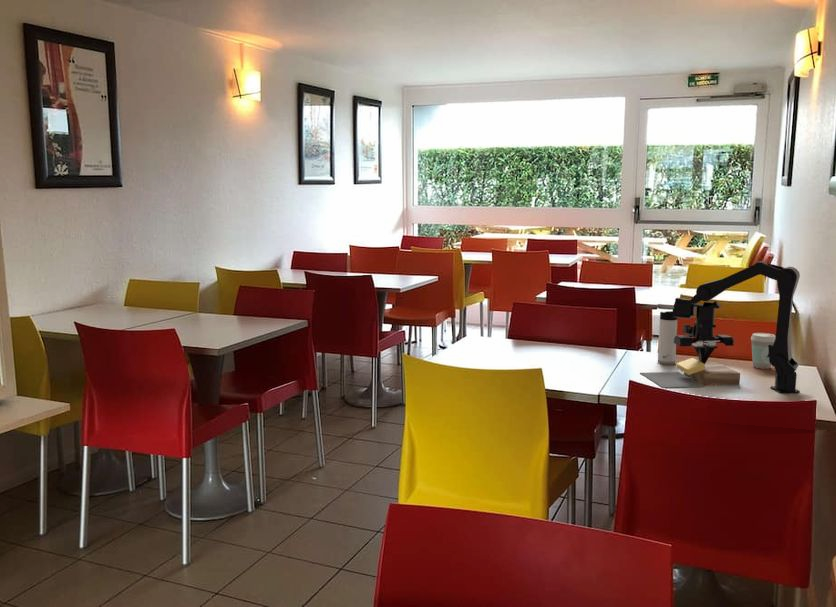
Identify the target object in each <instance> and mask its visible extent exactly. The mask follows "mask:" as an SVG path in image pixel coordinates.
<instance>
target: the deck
mask: <svg viewBox="0 0 836 607" xmlns="http://www.w3.org/2000/svg"><path fill="white" fill-rule="evenodd" d="M683 375H685V376H687V377H689V378H690V379H692V380H694V381H696V382H697V383H699V384H701V385H703V386H704V387H705V386H706V387H709V386H710V387H712V386H713V387H714V386H739V385H740V383H741V382H740V381H741V372H739V371H737V370H735V369H732V368H730V367H728V366H726V365H723V364H722V363H720V362H716V361H714V362H713V361H711V362H710V361H709V362H707V361H706V363H705V370H702V371H699V372H696V373H693V374H690V375H688V374H686V373H685V372H683Z"/></svg>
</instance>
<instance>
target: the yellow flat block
mask: <svg viewBox="0 0 836 607" xmlns="http://www.w3.org/2000/svg"><path fill="white" fill-rule="evenodd" d="M675 364H676V367H677V369H678V370H679V371H681V372H683V373H684V372H685V373H686V374H688V375H690V374H693V373H696V372H699V371H702V370H705V365H704V363H702V362H700V361H699V359H696V358H694V357H690V358H687V359H685V360H682V361H679V362H675Z"/></svg>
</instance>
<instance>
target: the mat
mask: <svg viewBox="0 0 836 607" xmlns="http://www.w3.org/2000/svg"><path fill="white" fill-rule="evenodd" d="M639 374H640V375H642V376H643V377H645V378H646V379H648V380H649V381H650V382H652V383H654V384H655V385H657V386H659V387H660V388H662V387H663V388H662V389H688V388H691V389H692V388H693V389H695V388H698V389H699V388H705V386H704V385H702V384H701V383H699V382H697V381H695V380H693V379H692V378H690V377H688V376H686V375H685V374H684V373H681V372H679V371H663V372H662V371H660V372H659V371H656V372H654V371H653V372H651V371H650V372H649V371H648V372H640V373H639Z"/></svg>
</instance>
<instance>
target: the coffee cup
mask: <svg viewBox="0 0 836 607" xmlns="http://www.w3.org/2000/svg"><path fill="white" fill-rule="evenodd" d="M775 338H776V334H773V333H766V332H755V333H752V335H751V337H750V340H751V354H752V355H751V356H752V357H751V358H752V367H753V368H755V367H756V368H755V369H761V370H765V369H766V370H767V369H771V367H772V365H771V363H770V362H769V357H767V356H768V353H769V349H768V345H769V344H770V343H771V342H774V341H775Z"/></svg>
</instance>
